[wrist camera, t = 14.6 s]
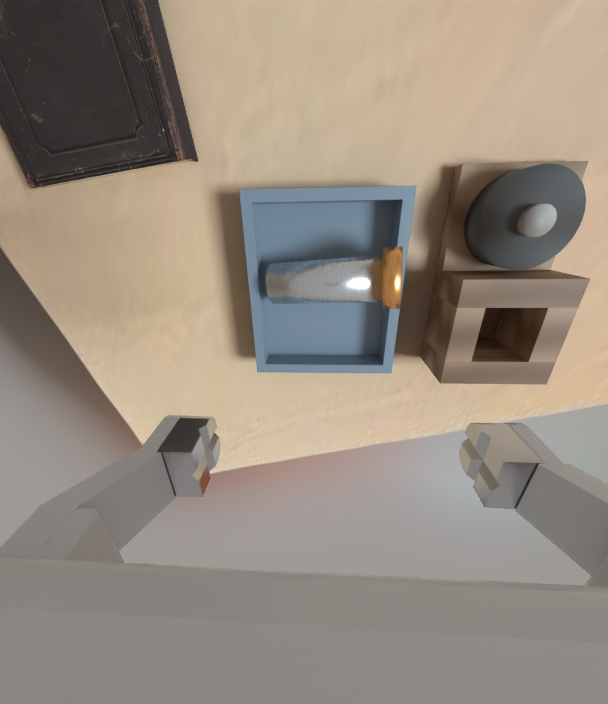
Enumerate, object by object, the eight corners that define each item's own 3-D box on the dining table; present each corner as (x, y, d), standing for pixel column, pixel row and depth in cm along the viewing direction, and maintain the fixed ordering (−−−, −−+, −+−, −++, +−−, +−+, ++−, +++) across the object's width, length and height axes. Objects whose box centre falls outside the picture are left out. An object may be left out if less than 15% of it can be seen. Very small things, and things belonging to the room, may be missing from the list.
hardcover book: (50, 190, 28) (30, 187, 26) (-126, -200, 19) (-181, -252, 17) (201, 162, 27) (191, 157, 25) (92, -278, 17) (61, -346, 15)
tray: (248, 192, 27) (239, 189, 24) (404, 189, 27) (416, 185, 23) (262, 358, 35) (257, 372, 32) (384, 359, 34) (391, 373, 31)
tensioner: (455, 167, 26) (491, 153, 20) (573, 164, 25) (643, 149, 20) (420, 357, 34) (440, 383, 29) (509, 357, 33) (546, 384, 28)
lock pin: (258, 258, 25) (402, 247, 21) (281, 255, 29) (403, 245, 25) (266, 315, 27) (399, 315, 23) (287, 304, 31) (401, 302, 27)
